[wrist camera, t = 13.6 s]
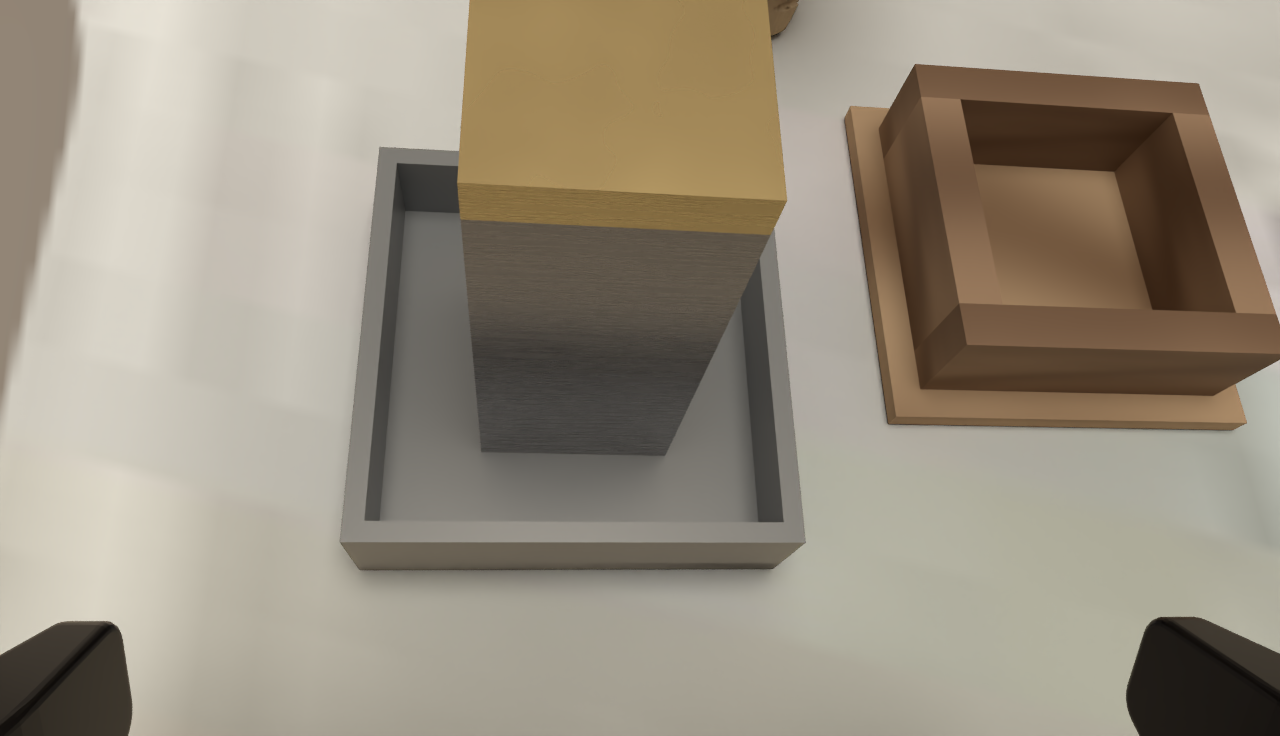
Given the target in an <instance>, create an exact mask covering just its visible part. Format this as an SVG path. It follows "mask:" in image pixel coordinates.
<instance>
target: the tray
mask: <svg viewBox="0 0 1280 736" xmlns="http://www.w3.org/2000/svg"><path fill="white" fill-rule="evenodd" d="M458 163H459V151H445V150H426V149H407V148H388V147H379V157H378V167H377V177H376V187H375V197H374V207H373V217H372V227H371V237H370V247H369V257H368V266H367V276H366V286H365V296H364V306H363V316H362V326H361V336H360V346H359V356H358V366H357V376H356V386H355V395H354V405H353V415H352V425H351V435H350V445H349V455H348V465H347V475H346V485H345V495H344V505H343V515H342V524H341V534H340V543H341V545H342V546H343V547H344V549H345V550H346V552H347V553H348V554H349V556H350V557H351V559H352V560H353V561H354V563H355V564H356V566H357V567H358V568H359V570H538V569H773V568H775V567H776V566H777V565H778V564H780V563H781V562H782V561H783V560H785V559H786V558H787V557H788V556H790V555H791V554H792V553H793V552H795V551H796V550H797V549H798V548H800V547H801V546H802V545H803V544H805V543H806V541H805V531H804V521H803V511H802V501H801V491H800V481H799V471H798V461H797V451H796V441H795V431H794V421H793V411H792V401H791V391H790V381H789V371H788V361H787V351H786V341H785V331H784V321H783V311H782V301H781V291H780V281H779V271H778V261H777V251H776V241H775V231H774V229H773V231H772V233H771V235H770V238H769V240H768V242H767V244H766V246H765V248H764V250H763V252H762V254H761V256H760V259H759V261H758V263H757V265H756V267H755V269H754V271H753V273H752V275H751V277H750V279H749V282H748V284H747V286H746V288H745V290H744V292H743V294H742V296H741V298H740V300H739V302H738V305H737V307H736V309H735V311H734V313H733V315H732V317H731V319H730V321H729V323H728V326H727V328H726V330H725V332H724V334H723V336H722V338H721V340H720V342H719V344H718V346H717V349H716V351H715V353H714V355H713V357H712V359H711V361H710V363H709V365H708V367H707V369H706V372H705V374H704V376H703V378H702V380H701V382H700V384H699V386H698V388H697V390H696V392H695V395H694V397H693V399H692V401H691V403H690V405H689V407H688V409H687V411H686V413H685V416H684V418H683V420H682V422H681V424H680V426H679V428H678V430H677V432H676V434H675V436H674V439H673V441H672V443H671V445H670V447H669V449H668V451H667V453H666V455H665V456H647V455H597V454H547V453H498V452H481V443H480V432H479V421H478V410H477V398H476V387H475V376H474V365H473V354H472V343H471V331H470V320H469V309H468V298H467V287H466V276H465V264H464V253H463V242H462V231H461V220H460V209H459V197H458V186H457V178H458Z"/></svg>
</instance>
